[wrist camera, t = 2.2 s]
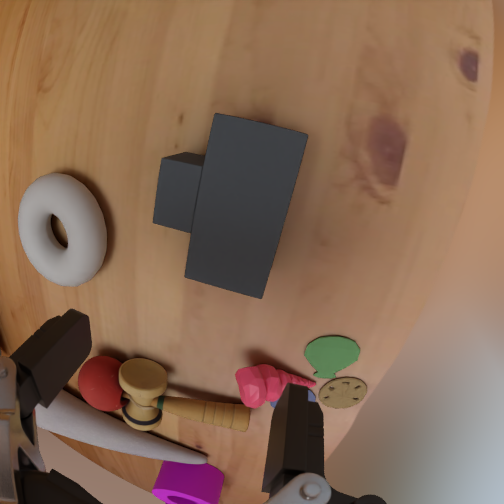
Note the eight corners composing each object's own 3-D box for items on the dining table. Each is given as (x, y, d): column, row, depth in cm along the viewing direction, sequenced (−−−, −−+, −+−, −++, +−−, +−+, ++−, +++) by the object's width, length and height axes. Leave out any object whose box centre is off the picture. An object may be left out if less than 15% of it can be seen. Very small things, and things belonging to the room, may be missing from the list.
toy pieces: (247, 413, 29) (240, 445, 25) (238, 333, 25) (227, 369, 21) (359, 413, 27) (363, 446, 23) (381, 333, 23) (392, 369, 19)
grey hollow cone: (207, 460, 27) (16, 400, 26) (204, 485, 30) (36, 434, 29) (213, 410, 34) (40, 364, 33) (209, 442, 38) (55, 400, 36)
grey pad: (194, 109, 18) (171, 105, 15) (305, 133, 18) (308, 134, 14) (170, 244, 22) (148, 266, 19) (267, 271, 22) (261, 299, 18)
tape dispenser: (161, 449, 36) (148, 482, 30) (226, 466, 35) (218, 501, 30) (168, 483, 42) (159, 509, 37) (219, 496, 42) (213, 523, 36)
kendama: (257, 370, 28) (82, 332, 26) (255, 428, 23) (59, 382, 21) (243, 403, 32) (96, 371, 31) (240, 452, 27) (79, 415, 25)
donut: (41, 156, 21) (33, 251, 25) (14, 162, 18) (11, 265, 22) (126, 190, 21) (107, 293, 25) (101, 200, 18) (87, 313, 22)
